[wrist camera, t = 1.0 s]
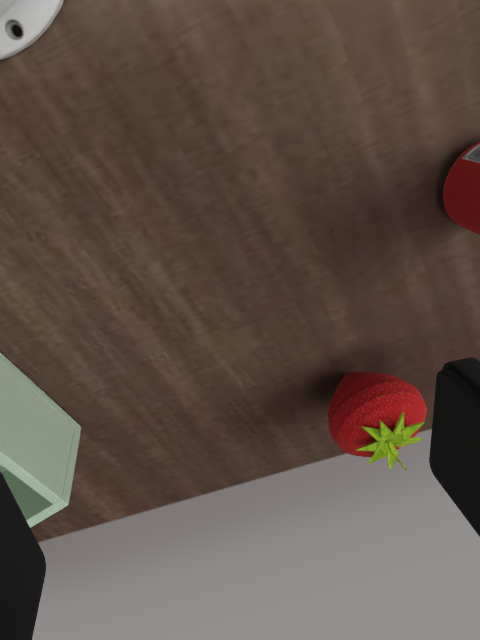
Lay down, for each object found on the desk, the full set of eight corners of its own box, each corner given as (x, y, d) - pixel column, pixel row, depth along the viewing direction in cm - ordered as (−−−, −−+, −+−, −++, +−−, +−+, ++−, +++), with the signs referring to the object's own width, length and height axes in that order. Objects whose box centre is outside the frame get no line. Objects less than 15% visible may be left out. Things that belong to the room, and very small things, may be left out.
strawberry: (394, 384, 41) (463, 466, 32) (317, 418, 41) (365, 508, 32) (381, 333, 38) (453, 407, 29) (298, 369, 38) (346, 454, 30)
